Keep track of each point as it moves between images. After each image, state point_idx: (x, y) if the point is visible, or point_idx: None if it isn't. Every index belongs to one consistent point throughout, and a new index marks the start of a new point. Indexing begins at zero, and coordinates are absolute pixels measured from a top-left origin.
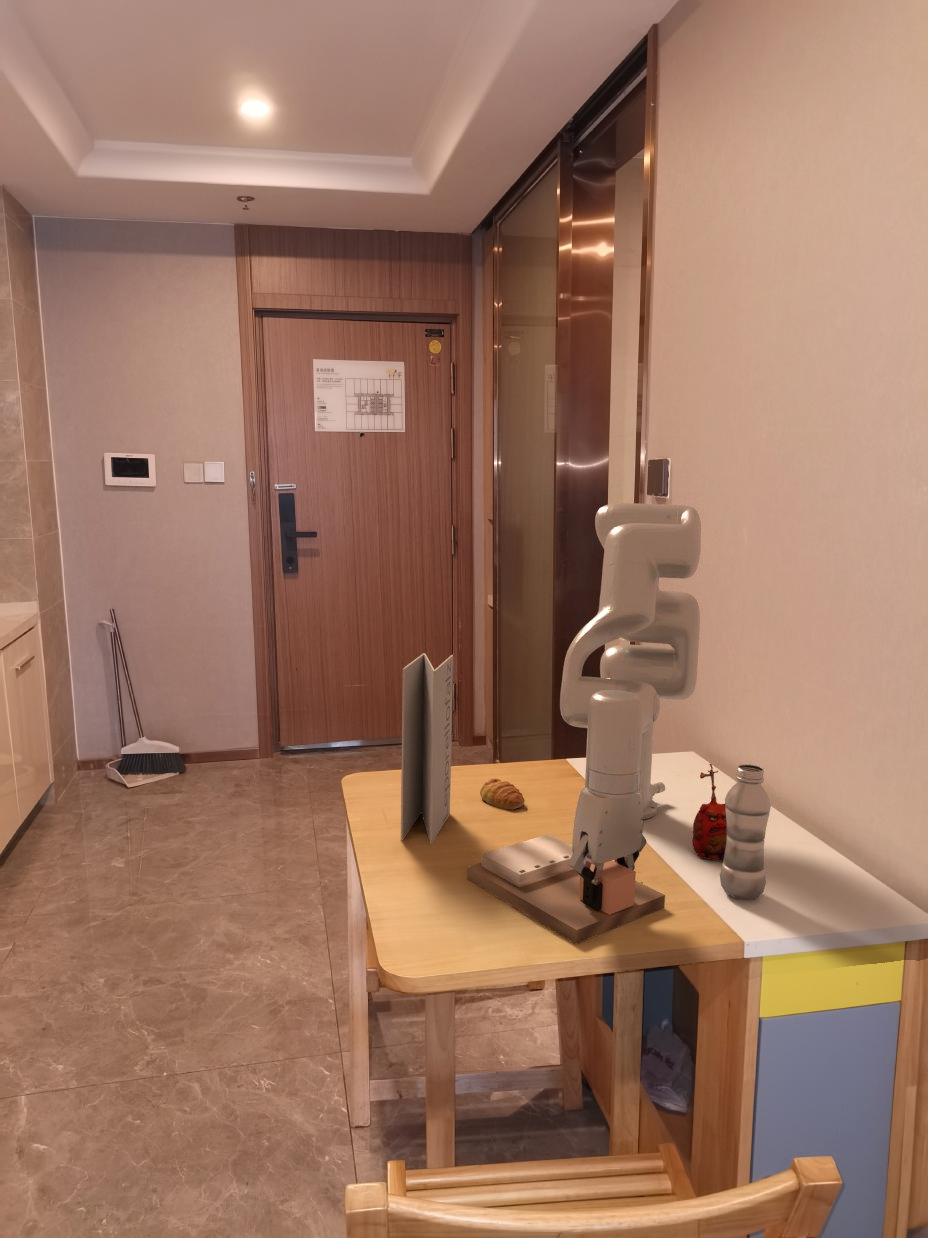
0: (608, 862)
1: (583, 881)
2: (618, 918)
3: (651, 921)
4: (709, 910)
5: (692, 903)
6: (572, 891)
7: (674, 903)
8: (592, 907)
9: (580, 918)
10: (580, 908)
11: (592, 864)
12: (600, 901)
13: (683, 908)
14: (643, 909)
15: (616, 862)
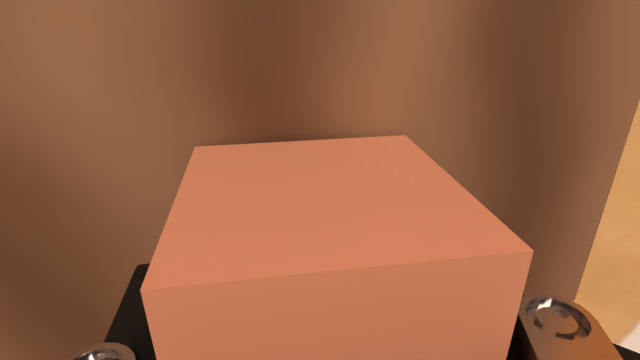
0: (453, 351)
1: (140, 294)
2: None
3: None
4: (617, 332)
5: (632, 281)
6: (232, 35)
7: (594, 254)
8: None
9: (68, 302)
10: (136, 226)
11: (286, 327)
12: None
13: (578, 292)
14: None
15: (521, 350)
